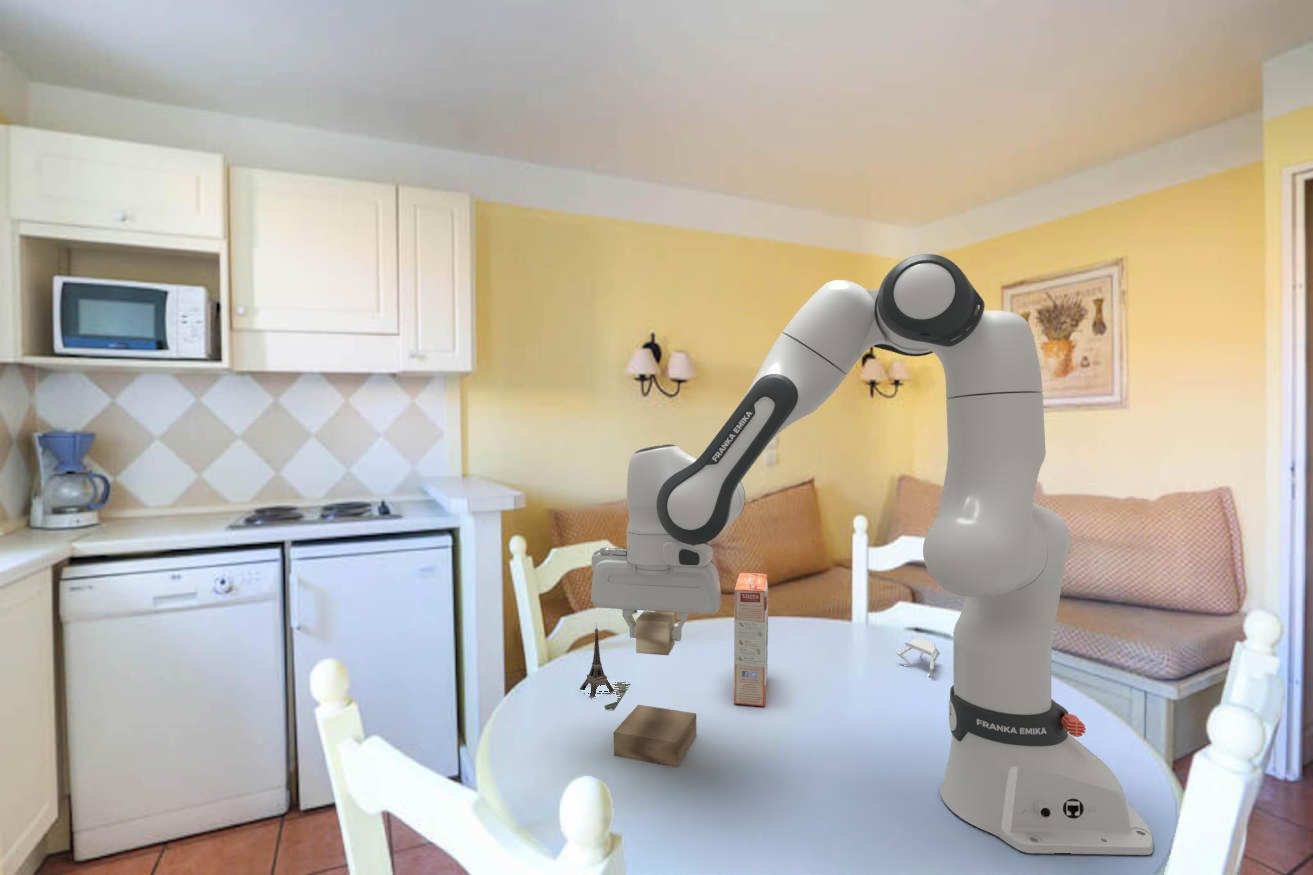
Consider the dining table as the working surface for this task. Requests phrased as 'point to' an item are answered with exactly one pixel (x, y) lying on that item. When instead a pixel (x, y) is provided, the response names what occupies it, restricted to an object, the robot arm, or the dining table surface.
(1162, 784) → the dining table surface
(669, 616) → the maple cube
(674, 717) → the walnut block
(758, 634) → the cracker box
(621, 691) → the eiffel tower figurine
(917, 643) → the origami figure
